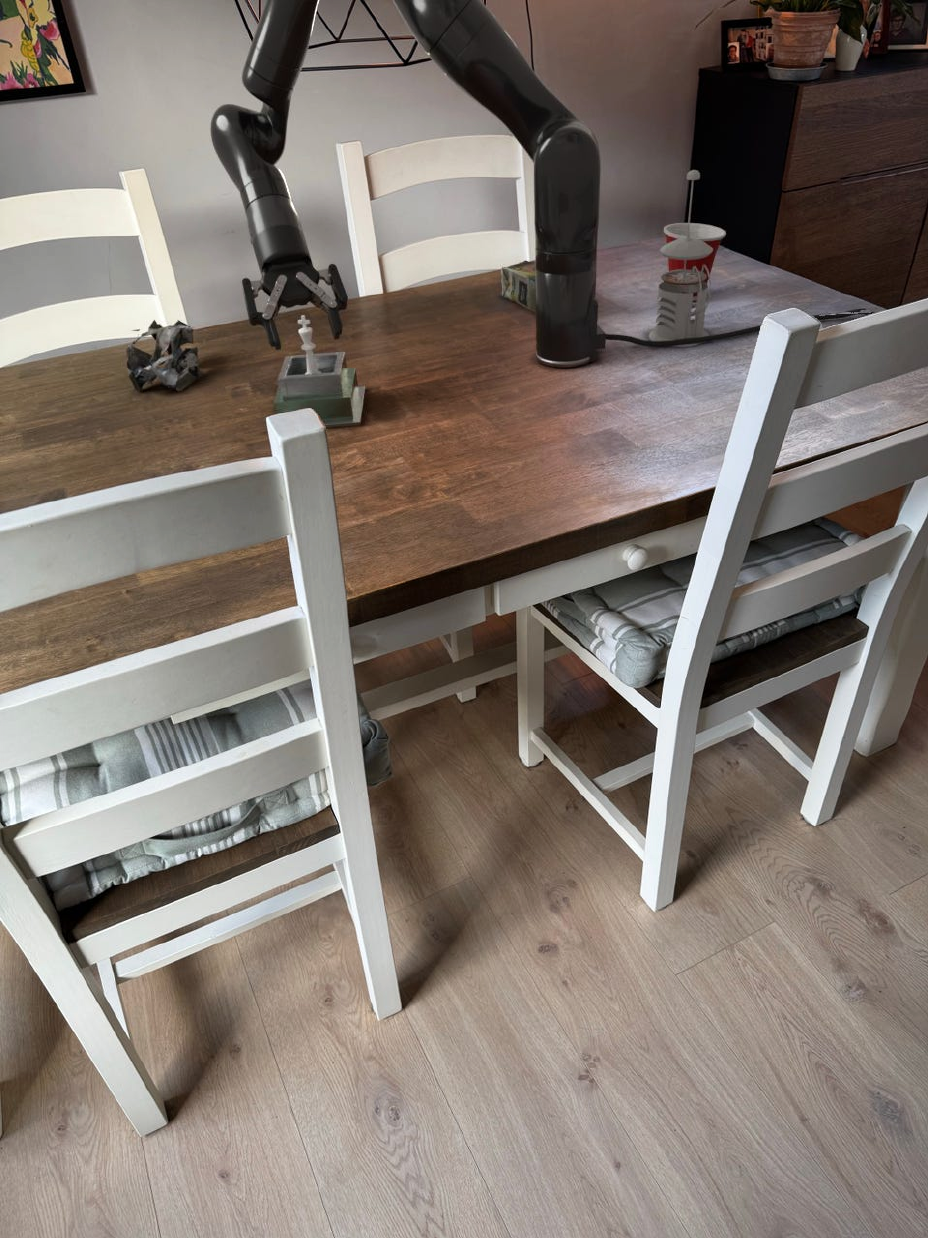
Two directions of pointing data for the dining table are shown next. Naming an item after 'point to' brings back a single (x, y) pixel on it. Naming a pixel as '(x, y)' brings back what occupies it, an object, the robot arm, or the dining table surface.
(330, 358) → the stand
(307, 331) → the chess piece
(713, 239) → the plastic cup
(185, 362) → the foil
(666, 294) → the french press
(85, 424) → the dining table surface
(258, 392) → the dining table surface
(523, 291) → the juice carton
